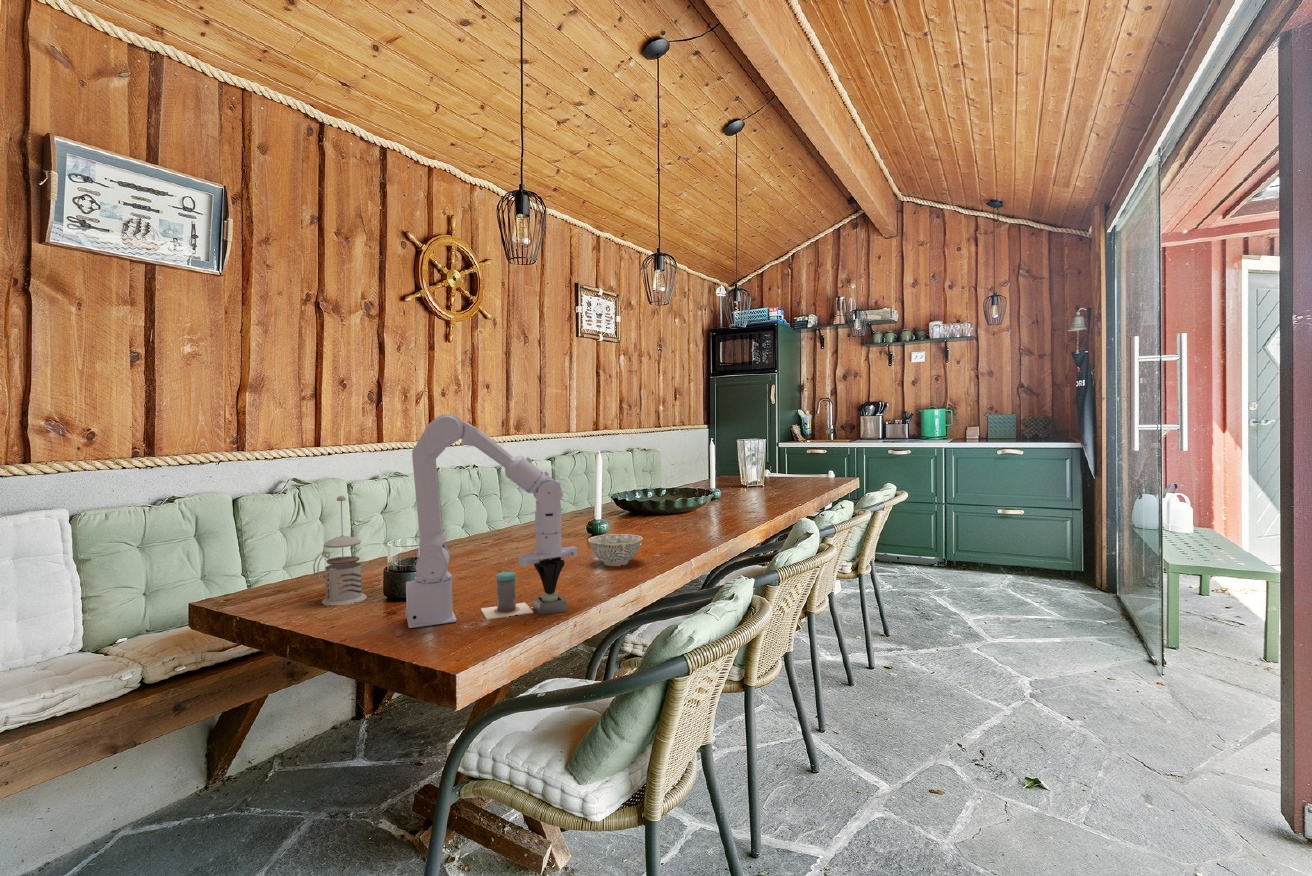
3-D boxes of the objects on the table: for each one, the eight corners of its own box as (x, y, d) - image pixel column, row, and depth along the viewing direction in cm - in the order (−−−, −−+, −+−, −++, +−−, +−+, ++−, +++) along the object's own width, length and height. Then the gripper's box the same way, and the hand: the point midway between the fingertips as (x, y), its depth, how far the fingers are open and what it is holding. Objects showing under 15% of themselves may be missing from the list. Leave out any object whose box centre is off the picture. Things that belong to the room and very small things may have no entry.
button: (543, 605, 140) (543, 596, 140) (539, 601, 144) (539, 592, 144) (559, 603, 142) (559, 594, 142) (555, 599, 145) (555, 590, 145)
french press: (375, 597, 155) (372, 494, 154) (328, 610, 145) (324, 500, 144) (352, 591, 160) (349, 492, 159) (305, 603, 150) (301, 497, 150)
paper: (486, 619, 136) (486, 618, 136) (480, 609, 143) (480, 608, 143) (533, 613, 140) (533, 611, 140) (525, 603, 148) (525, 602, 148)
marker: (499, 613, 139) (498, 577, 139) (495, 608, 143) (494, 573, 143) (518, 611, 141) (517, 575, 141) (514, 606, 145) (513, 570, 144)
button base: (540, 615, 139) (539, 604, 139) (533, 607, 144) (533, 597, 144) (566, 611, 141) (566, 600, 141) (559, 604, 147) (559, 593, 147)
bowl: (586, 559, 193) (586, 534, 193) (638, 556, 196) (638, 532, 196) (590, 571, 177) (590, 545, 177) (647, 568, 180) (647, 542, 180)
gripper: (564, 525, 150) (565, 583, 151) (510, 534, 140) (511, 596, 140) (582, 529, 145) (583, 588, 146) (528, 538, 135) (529, 602, 135)
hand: (549, 592), depth 143 cm, fingers closed
